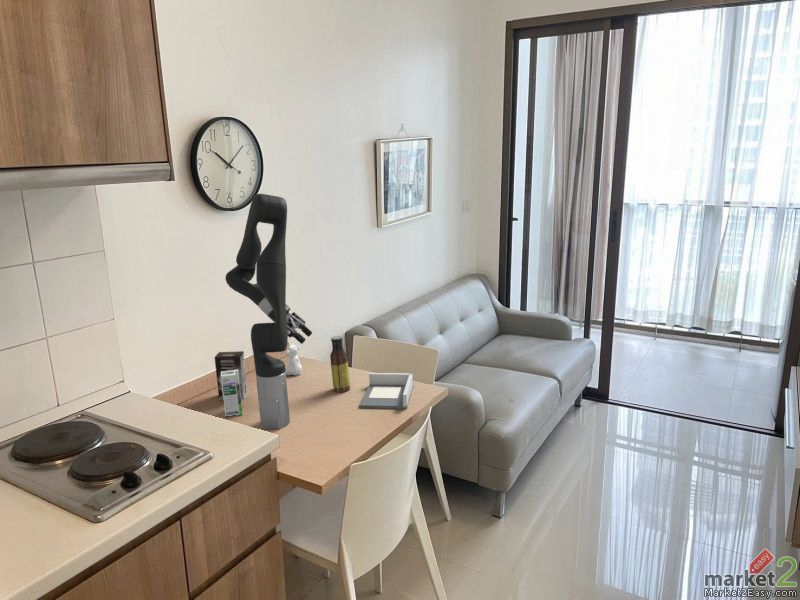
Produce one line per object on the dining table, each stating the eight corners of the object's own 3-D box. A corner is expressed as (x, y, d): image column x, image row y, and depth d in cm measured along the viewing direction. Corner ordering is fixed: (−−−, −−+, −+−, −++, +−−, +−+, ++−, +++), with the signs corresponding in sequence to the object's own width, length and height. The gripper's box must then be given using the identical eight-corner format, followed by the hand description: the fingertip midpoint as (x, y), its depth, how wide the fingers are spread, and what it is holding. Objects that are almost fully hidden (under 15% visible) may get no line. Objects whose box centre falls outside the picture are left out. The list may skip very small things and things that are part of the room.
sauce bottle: (351, 386, 219) (348, 334, 215) (348, 392, 213) (345, 339, 209) (334, 386, 220) (330, 334, 215) (330, 392, 214) (327, 340, 209)
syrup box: (224, 417, 196) (220, 376, 193) (225, 410, 202) (220, 370, 198) (242, 415, 198) (238, 374, 194) (242, 408, 203) (238, 368, 200)
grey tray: (406, 408, 198) (406, 394, 197) (359, 407, 200) (359, 394, 199) (413, 386, 217) (412, 373, 216) (370, 385, 219) (369, 372, 218)
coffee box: (218, 400, 211) (213, 357, 207) (223, 393, 217) (218, 351, 213) (244, 399, 211) (239, 356, 207) (248, 392, 217) (243, 350, 214)
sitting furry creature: (296, 367, 241) (293, 339, 239) (310, 372, 236) (307, 343, 233) (277, 374, 235) (274, 345, 232) (291, 379, 229) (288, 349, 226)
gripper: (273, 305, 205) (308, 337, 206) (286, 295, 218) (319, 325, 220) (260, 320, 207) (294, 351, 208) (274, 309, 220) (306, 339, 221)
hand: (307, 338), depth 214 cm, fingers open, 8 cm apart
